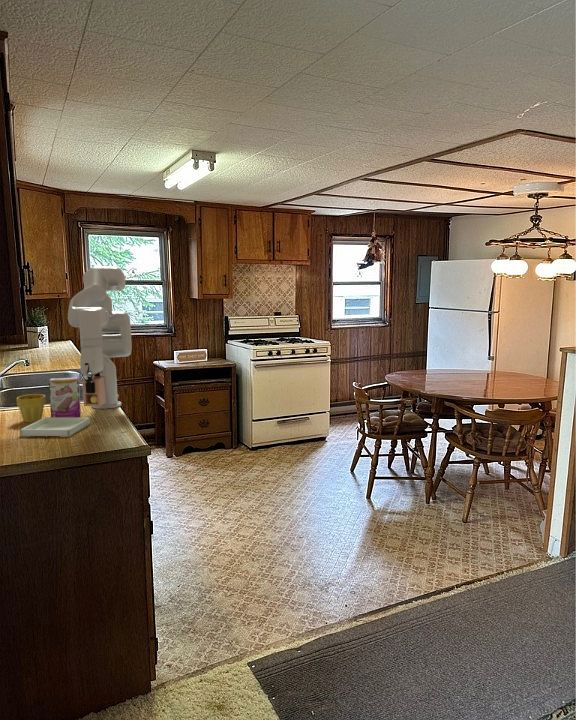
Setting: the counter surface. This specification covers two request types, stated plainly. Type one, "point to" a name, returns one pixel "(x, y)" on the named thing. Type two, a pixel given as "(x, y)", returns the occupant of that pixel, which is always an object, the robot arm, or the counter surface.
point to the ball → (94, 399)
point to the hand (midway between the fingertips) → (94, 390)
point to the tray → (55, 427)
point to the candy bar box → (65, 397)
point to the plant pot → (31, 407)
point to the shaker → (99, 392)
